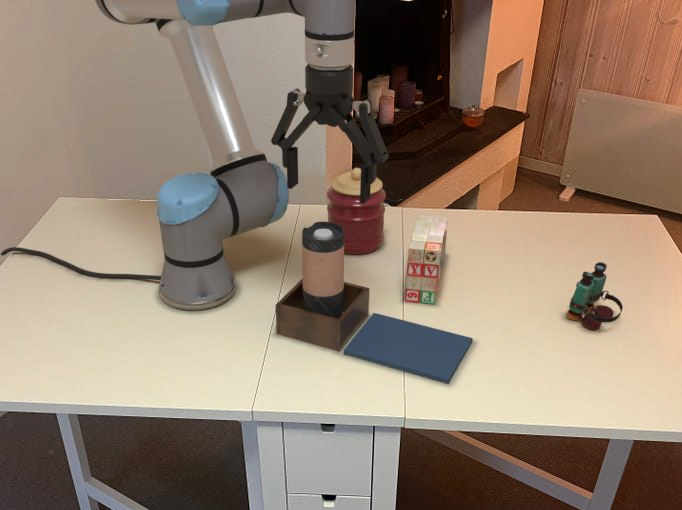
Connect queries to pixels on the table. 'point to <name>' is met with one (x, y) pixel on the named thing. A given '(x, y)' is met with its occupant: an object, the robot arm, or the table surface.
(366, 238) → the kitchen canister
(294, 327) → the cube shelf
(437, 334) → the mat
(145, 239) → the table surface
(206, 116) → the robot arm
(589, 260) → the table surface
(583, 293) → the binoculars
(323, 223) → the travel mug
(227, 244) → the table surface
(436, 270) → the stack of blocks
